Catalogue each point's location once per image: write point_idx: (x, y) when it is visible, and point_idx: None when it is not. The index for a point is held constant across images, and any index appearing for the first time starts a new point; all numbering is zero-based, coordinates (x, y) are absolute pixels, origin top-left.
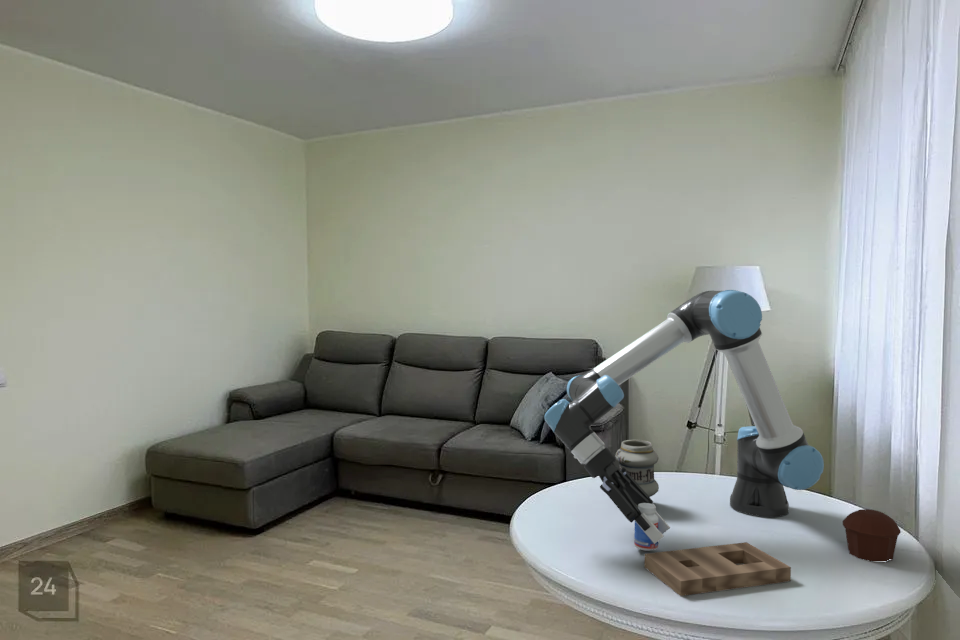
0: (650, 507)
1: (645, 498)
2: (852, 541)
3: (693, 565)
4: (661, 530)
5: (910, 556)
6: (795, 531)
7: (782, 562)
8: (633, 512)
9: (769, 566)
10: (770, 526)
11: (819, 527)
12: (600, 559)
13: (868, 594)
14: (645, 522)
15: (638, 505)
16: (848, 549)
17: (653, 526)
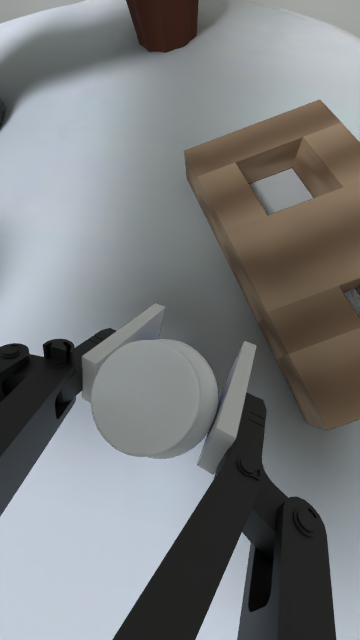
0: (182, 377)
1: (33, 381)
2: (171, 13)
3: (340, 287)
4: (154, 335)
5: None
6: (71, 96)
7: (296, 108)
8: (326, 547)
9: (329, 130)
10: (44, 123)
11: (57, 68)
12: None
13: (330, 54)
14: (255, 420)
15: (142, 455)
16: (151, 50)
17: (248, 377)
